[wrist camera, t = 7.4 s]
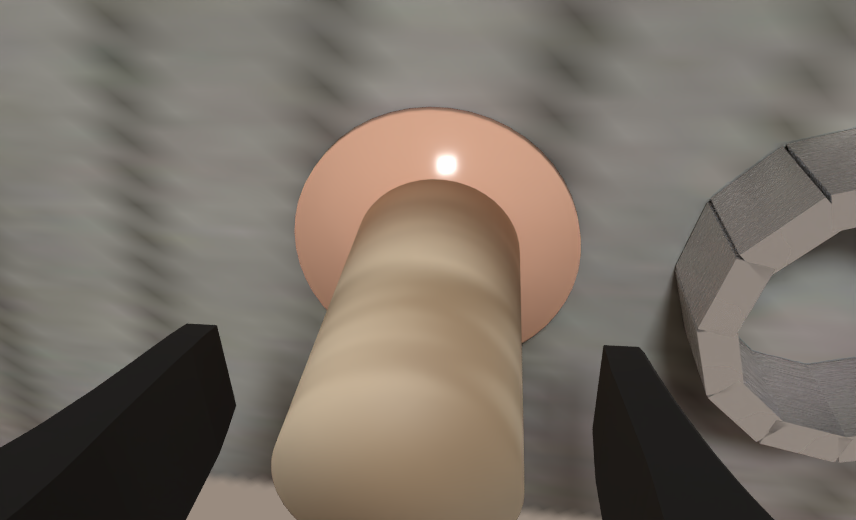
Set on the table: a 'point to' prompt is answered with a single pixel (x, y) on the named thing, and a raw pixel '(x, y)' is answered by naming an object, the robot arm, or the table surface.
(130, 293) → the table surface
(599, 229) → the table surface
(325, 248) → the coaster
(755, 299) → the collar
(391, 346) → the peg
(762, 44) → the table surface
